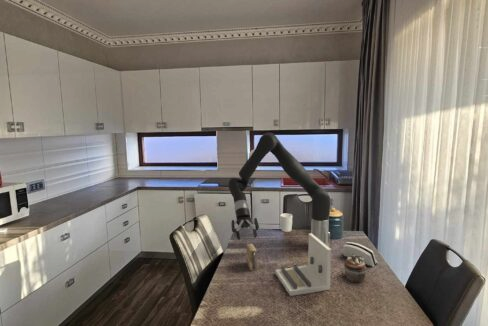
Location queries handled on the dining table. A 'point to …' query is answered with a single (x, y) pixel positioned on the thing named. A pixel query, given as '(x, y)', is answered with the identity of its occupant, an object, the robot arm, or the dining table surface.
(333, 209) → the canister
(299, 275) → the l-shaped angle bracket
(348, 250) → the white arched napkin holder
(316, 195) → the robot arm
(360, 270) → the cupcake
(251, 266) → the wooden block
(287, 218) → the white cup
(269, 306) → the dining table surface
